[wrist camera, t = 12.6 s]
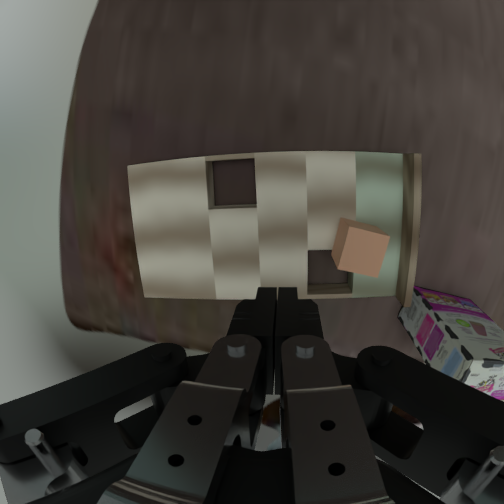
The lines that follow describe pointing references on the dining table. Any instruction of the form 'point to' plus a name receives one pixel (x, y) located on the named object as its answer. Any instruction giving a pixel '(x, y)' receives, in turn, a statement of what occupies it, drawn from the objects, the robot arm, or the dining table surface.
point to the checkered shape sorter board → (273, 223)
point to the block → (359, 247)
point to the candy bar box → (457, 339)
